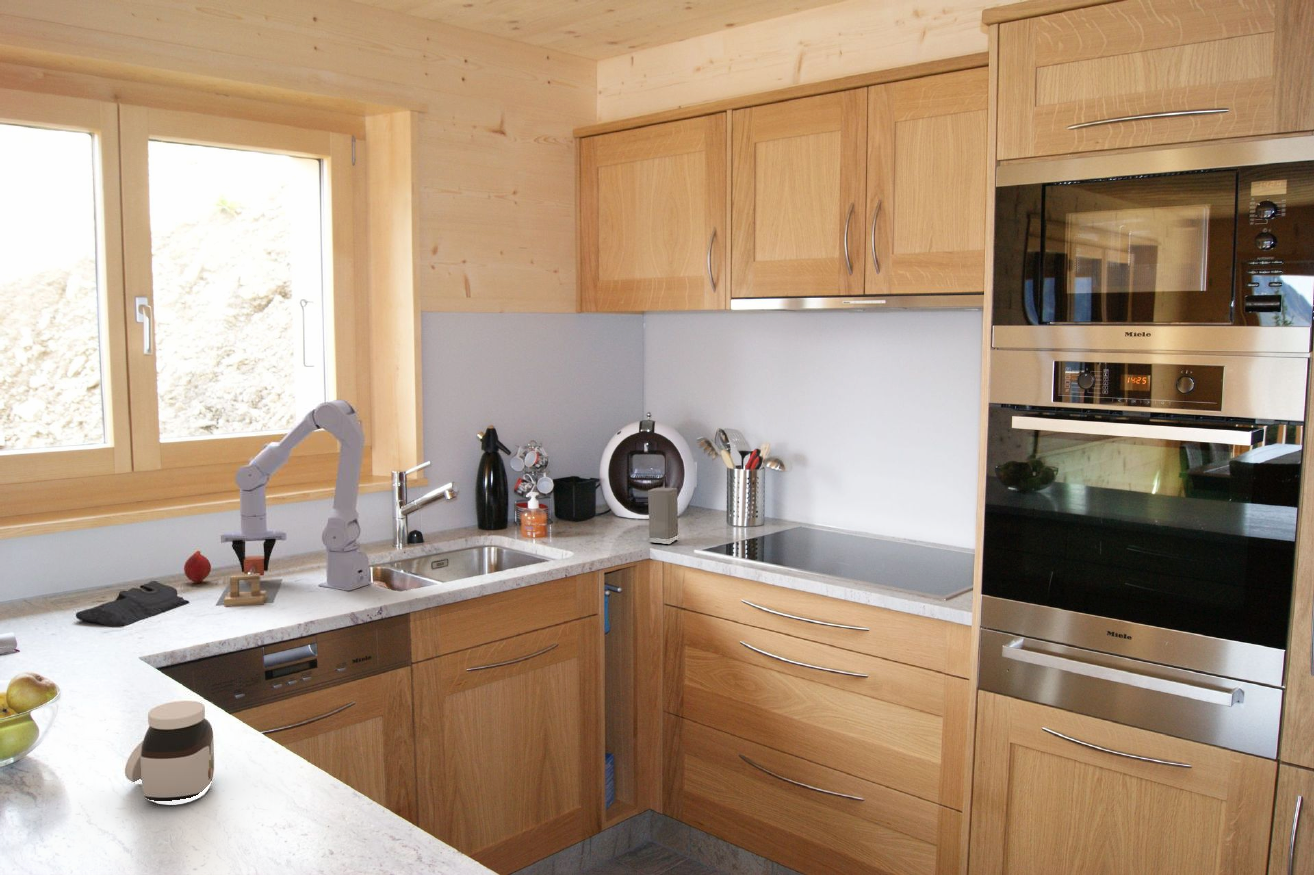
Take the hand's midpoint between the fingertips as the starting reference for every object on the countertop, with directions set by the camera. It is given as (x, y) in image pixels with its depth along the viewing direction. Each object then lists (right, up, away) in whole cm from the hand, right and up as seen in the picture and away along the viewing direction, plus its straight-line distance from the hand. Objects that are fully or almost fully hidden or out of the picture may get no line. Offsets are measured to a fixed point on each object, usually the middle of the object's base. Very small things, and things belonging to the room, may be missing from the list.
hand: (254, 570), depth 249 cm
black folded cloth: (-17, -6, -25) cm, 31 cm away
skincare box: (+98, +1, +53) cm, 112 cm away
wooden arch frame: (+5, -5, -17) cm, 18 cm away
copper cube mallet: (+2, -2, -6) cm, 7 cm away
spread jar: (+31, -16, -110) cm, 115 cm away
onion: (-13, -3, -1) cm, 14 cm away
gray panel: (+2, -4, -8) cm, 9 cm away
